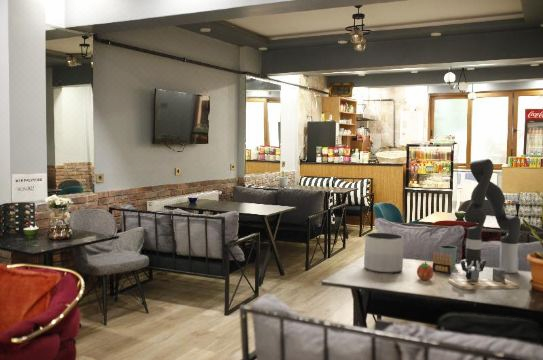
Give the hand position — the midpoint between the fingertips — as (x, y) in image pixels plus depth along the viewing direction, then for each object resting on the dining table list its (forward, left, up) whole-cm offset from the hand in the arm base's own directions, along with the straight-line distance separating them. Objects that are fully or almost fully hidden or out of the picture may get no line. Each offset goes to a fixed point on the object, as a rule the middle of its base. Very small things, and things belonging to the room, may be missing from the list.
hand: (472, 279), depth 278 cm
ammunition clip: (+5, -25, -3) cm, 26 cm away
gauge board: (-5, +2, -3) cm, 6 cm away
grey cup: (-6, -40, -3) cm, 41 cm away
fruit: (+22, -10, -3) cm, 24 cm away
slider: (0, +2, -1) cm, 2 cm away
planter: (+37, -34, -3) cm, 50 cm away
